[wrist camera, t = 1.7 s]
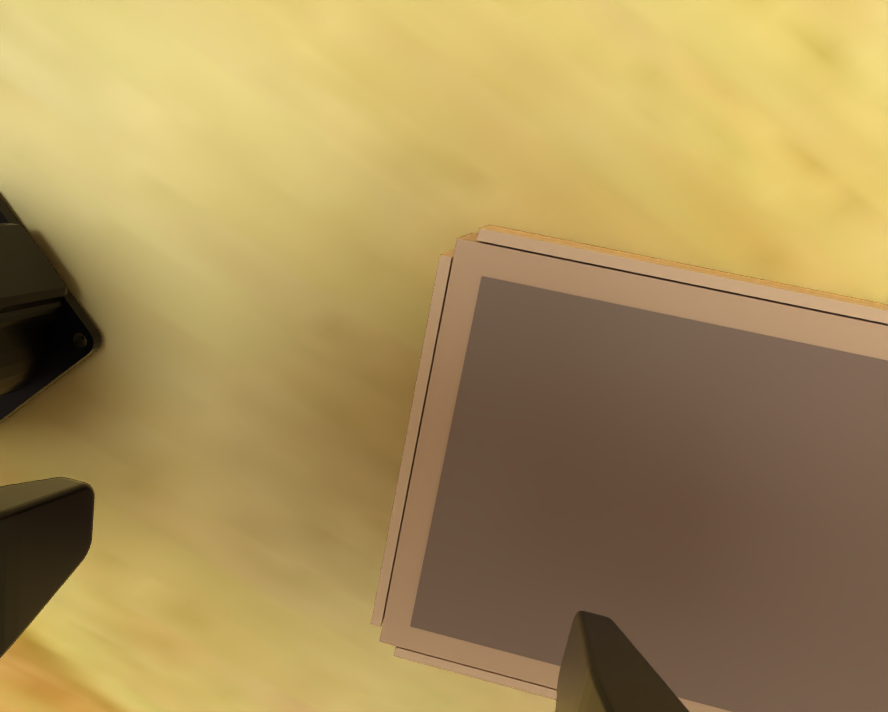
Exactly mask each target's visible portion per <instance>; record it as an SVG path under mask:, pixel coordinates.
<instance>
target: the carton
mask: <svg viewBox="0 0 888 712" xmlns="http://www.w3.org/2000/svg"><path fill="white" fill-rule="evenodd" d="M578 611H587V612H591V613H594V614H598V615H602V616H606V617H609V618H611V619H612V620H613V621H614V622H615V623H616V625H617V626H618V627H619V628H620V629H621V631H622V632H623V633H624V634H625V635H626V637H627V638H628V639H629V640H630V641H631V643H632V644H633V645H634V646H635V647H636V648H637V650H638V651H639V652H640V653H641V654H642V656H643V657H644V658H645V659H646V660H647V662H648V663H649V664H650V665H651V666H652V668H653V669H654V670H655V671H656V672H657V673H658V675H659V676H660V677H661V678H662V679H663V681H664V682H665V683H666V684H667V685H668V687H669V688H670V689H671V690H672V691H673V693H674V694H675V695H676V696H677V697H678V698H679V700H680V701H681V702H682V703H683V704H684V706H685V707H686V708H687V709H688V710H689V712H888V305H886V304H881V303H876V302H871V301H866V300H861V299H856V298H851V297H846V296H841V295H836V294H831V293H826V292H821V291H816V290H811V289H806V288H801V287H796V286H791V285H786V284H781V283H777V282H772V281H767V280H762V279H757V278H752V277H747V276H742V275H737V274H732V273H727V272H722V271H717V270H712V269H707V268H702V267H697V266H692V265H687V264H682V263H677V262H672V261H667V260H662V259H657V258H652V257H647V256H642V255H637V254H632V253H627V252H622V251H617V250H612V249H607V248H602V247H597V246H592V245H587V244H582V243H577V242H572V241H567V240H562V239H557V238H552V237H547V236H542V235H537V234H532V233H527V232H522V231H517V230H512V229H507V228H502V227H497V226H492V225H488V226H485V227H482V228H479V232H478V234H474V233H470V234H468V235H465V236H462V237H459V238H457V242H456V247H455V248H454V249H452V250H450V251H448V252H446V253H444V254H441V255H440V258H439V263H438V268H437V274H436V279H435V284H434V290H433V295H432V300H431V306H430V311H429V316H428V322H427V327H426V332H425V338H424V343H423V348H422V354H421V359H420V364H419V370H418V375H417V380H416V386H415V391H414V396H413V402H412V407H411V413H410V418H409V423H408V429H407V434H406V439H405V445H404V450H403V455H402V461H401V466H400V471H399V477H398V482H397V487H396V493H395V498H394V503H393V509H392V514H391V519H390V525H389V530H388V535H387V541H386V546H385V551H384V557H383V562H382V567H381V573H380V578H379V583H378V589H377V594H376V599H375V605H374V610H373V615H372V621H371V624H372V625H376V626H380V627H381V625H382V622H383V626H382V631H381V636H380V642H383V643H387V644H390V645H394V646H396V647H395V652H394V656H396V657H400V658H403V659H407V660H411V661H414V662H418V663H422V664H425V665H429V666H433V667H437V668H440V669H444V670H448V671H451V672H455V673H459V674H462V675H466V676H470V677H474V678H477V679H481V680H485V681H488V682H492V683H496V684H500V685H503V686H507V687H511V688H514V689H518V690H522V691H525V692H529V693H533V694H537V695H540V696H544V697H548V698H551V699H555V700H556V697H557V684H558V677H559V671H560V667H561V663H562V659H563V655H564V652H565V648H566V644H567V641H568V637H569V633H570V630H571V626H572V622H573V619H574V617H575V615H576V613H577V612H578ZM383 619H384V621H383Z"/></svg>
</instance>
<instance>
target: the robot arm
mask: <svg viewBox="0 0 888 712" xmlns="http://www.w3.org/2000/svg"><path fill="white" fill-rule="evenodd" d="M82 334H83V335H84V336H85V337H86V339H87V345H85V344H84V343H83V342H82V340H81V335H82ZM100 345H101V335H100V333H99V332H98V330H97V329H96V327H95V326H94V324H93V323H92V322H91V320H90V319H89V318H88V316H87V315H86V314H85V312H84V311H83V309H82V308H81V307H80V305H79V304H78V303H77V301H76V300H75V299H74V297H73V296H72V294H71V293H70V292H69V290H68V289H67V288H66V285H65V283H64V282H63V280H62V279H61V278H60V276H59V275H58V274H57V272H56V271H55V270H54V268H53V267H52V265H51V264H50V263H49V261H48V260H47V259H46V257H45V256H44V255H43V253H42V252H41V250H40V249H39V248H38V246H37V245H36V244H35V242H34V241H33V240H32V238H31V237H30V235H29V234H28V233H27V231H26V230H25V229H24V227H23V226H22V225H20V224H19V222H18V221H17V219H16V218H15V217H14V215H13V214H12V213H11V211H10V210H9V209H8V207H7V206H6V204H5V203H4V202H3V200H2V199H1V198H0V423H2V422H3V421H4V420H6V419H7V418H8V417H10V416H11V415H12V414H14V413H15V412H16V411H18V410H19V409H20V408H22V407H23V406H24V405H26V404H27V403H28V402H30V401H31V400H32V399H34V398H35V397H36V396H37V395H39V394H40V393H41V392H43V391H44V390H45V389H47V388H48V387H49V386H51V385H52V384H53V383H55V382H56V381H57V380H59V379H60V378H61V377H63V376H64V375H65V374H67V373H68V372H69V371H71V370H72V369H73V368H75V367H76V366H77V365H79V364H80V363H81V362H83V361H84V360H85V359H87V358H88V357H89V356H90V355H92V354H93V353H94V352H96V351H97V350H98V349H99V348H100ZM94 499H95V498H94V490H93V488H92V487H91V486H90V485H89V484H88V483H85V482H81V481H77V480H73V479H69V478H65V477H56V478H50V479H44V480H38V481H32V482H25V483H19V484H13V485H7V486H0V658H1V657H2V656H3V655H4V653H5V652H6V651H7V650H8V649H9V648H10V647H11V646H12V644H13V643H14V642H15V641H16V640H17V639H18V638H19V636H20V635H21V634H22V633H23V632H24V630H25V629H26V628H27V627H28V626H29V624H30V623H31V622H32V621H33V620H34V618H35V617H36V616H37V615H38V614H39V612H40V611H41V610H42V609H43V608H44V606H45V605H46V604H47V603H48V602H49V600H50V599H51V598H52V597H53V596H54V594H55V593H56V592H57V591H58V590H59V588H60V587H61V586H62V585H63V584H64V583H65V581H66V580H67V579H68V578H69V577H70V575H71V574H72V573H73V572H74V571H75V569H76V568H77V567H78V566H79V565H80V563H81V562H82V561H83V559H84V558H85V556H86V555H87V553H88V551H89V548H90V545H91V541H92V530H93V514H94ZM556 712H689V710H688V709H687V708H686V707H685V706H684V704H683V703H682V702H681V701H680V700H679V698H678V697H677V696H676V695H675V694H674V693H673V691H672V690H671V689H670V688H669V687H668V685H667V684H666V683H665V682H664V681H663V679H662V678H661V677H660V676H659V675H658V673H657V672H656V671H655V670H654V669H653V668H652V666H651V665H650V664H649V663H648V662H647V660H646V659H645V658H644V657H643V656H642V654H641V653H640V652H639V651H638V650H637V648H636V647H635V646H634V645H633V644H632V643H631V641H630V640H629V639H628V638H627V637H626V635H625V634H624V633H623V632H622V631H621V629H620V628H619V627H618V626H617V625H616V623H615V622H614V621H613V620H612V619H611V618H609V617H606V616H602V615H598V614H594V613H591V612H587V611H578V612H577V613H576V615H575V617H574V619H573V622H572V626H571V630H570V633H569V637H568V641H567V644H566V648H565V652H564V655H563V659H562V663H561V667H560V671H559V677H558V684H557V697H556Z"/></svg>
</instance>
